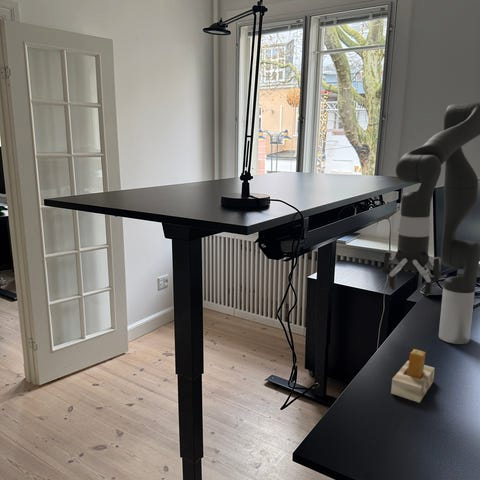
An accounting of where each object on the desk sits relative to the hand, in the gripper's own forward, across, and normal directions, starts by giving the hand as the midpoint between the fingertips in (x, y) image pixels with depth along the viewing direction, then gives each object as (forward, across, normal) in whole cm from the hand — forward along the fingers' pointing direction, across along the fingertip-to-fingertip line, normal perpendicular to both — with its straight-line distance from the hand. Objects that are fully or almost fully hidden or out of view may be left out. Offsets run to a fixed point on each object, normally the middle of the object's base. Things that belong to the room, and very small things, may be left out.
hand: (409, 292), depth 118 cm
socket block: (+24, -4, +7) cm, 25 cm away
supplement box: (+24, -4, +7) cm, 25 cm away
